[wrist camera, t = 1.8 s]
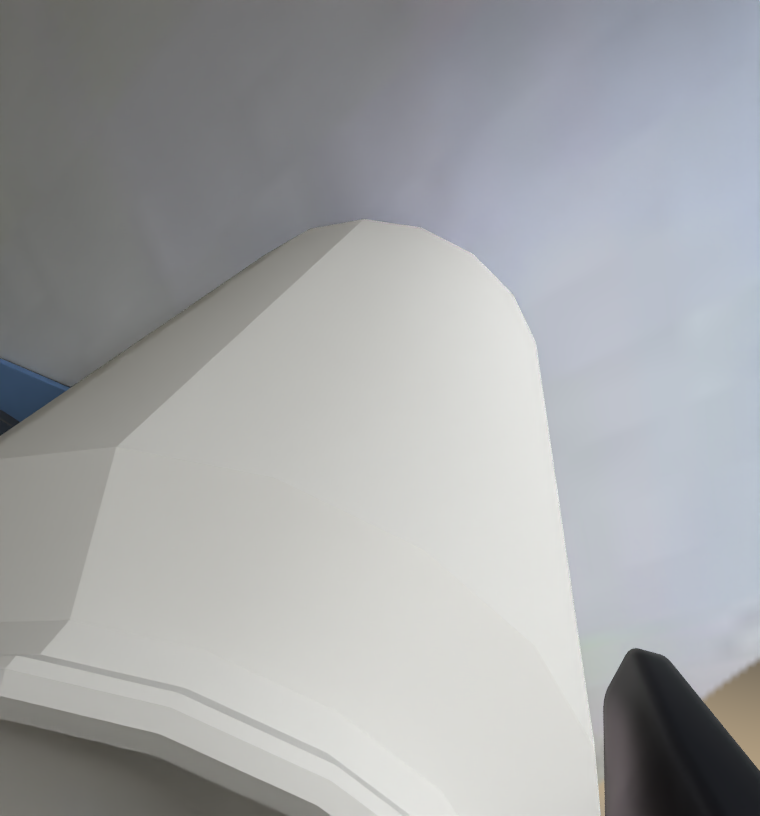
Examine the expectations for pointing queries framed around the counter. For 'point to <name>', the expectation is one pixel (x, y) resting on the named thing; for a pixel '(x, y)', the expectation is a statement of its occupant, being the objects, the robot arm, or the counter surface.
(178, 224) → the counter surface
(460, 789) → the can
